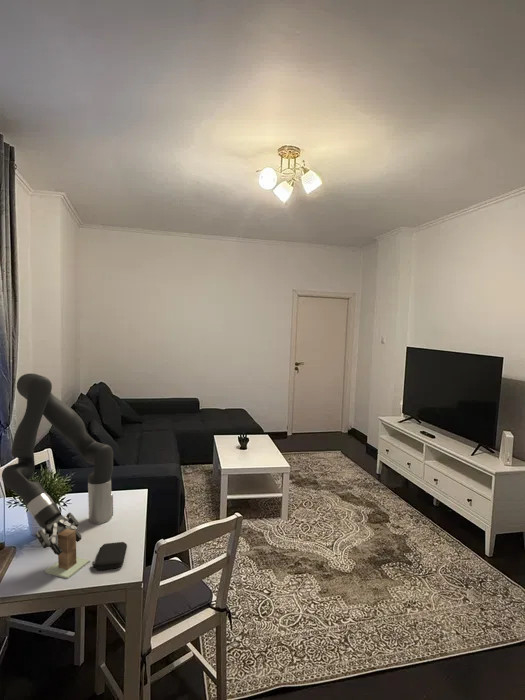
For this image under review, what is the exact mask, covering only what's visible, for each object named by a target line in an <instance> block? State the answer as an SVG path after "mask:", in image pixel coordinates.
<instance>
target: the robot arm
mask: <svg viewBox="0 0 525 700" xmlns="http://www.w3.org/2000/svg"><path fill="white" fill-rule="evenodd" d="M16 389H17V392H18V394H19V395H20V396H22V397H23V398H24V399H25V400H26V408H25V412H24V415H23V417H22V419H21V421H20V422H19V425H18V426H17V428H16V430H15V433H14V437H13V441H12V445H11V451H10V453H11V455H12V457H13V458H17V463H14V464H9V465H7V466H6V467H4V469H3V470H2V471H1V480H2V481H3V483H4V485H5V486H6V487H7V488H9V489H10V490H11V491H12V492H13V493H14V494H16V495H18V496H19V497H20V498H21V499H22V501H23V502H24V504H25V506H26V507H27V509H28V511H29V513H30V514H31V515H32V518H33V519H34V520H35V522H36V523H37V524H38V526H39V527H40V529H39V530H38V531H37V532H36V533H35V537H36V538H37V540H38V542H39V544H40V545H41V547H42V549H44V550H45V549H47V548H50V549H51V550H52V551H53V553H54V555H57V556H58V555H59V554H61V553H62V549H61V548H60V546H59V545H58V541H57V542H56V539H57V536H58V534H59V533H60V532H62V531H64V530H65V529H71V530H75V531H76V543H78V542H80V541H81V540H82V535H81V533H80V532H79V530H78V528H79V526H80V525H81V524H80V522H79V521H78V520H77V519H76V517H75V516H74V515H73V513H71V512H68V513H67V514H66V515H65V516H63V515H62V511H61V509H60V508H59V507H58V505H57V504H56V502H54V500H53V498H52V497H51V496H50V495H49V494H48V493H47V492H46V490H45V489H44V487H43V486H42V484H40V482H39V481H31V480H30V479H31V478H32V477H33V475H34V473H35V470H36V467H35V466H36V464H35V453H34V451H35V447H36V441H37V435H38V432H39V427H40V424H41V421H42V418H43V417H44V418H45V419H46V420H47V421H48V422H49V423H50V424H51V426H52V427H53V428H54V429H55V430H56V431H57V432H58V433H59V434H60V435H61V436H63V438H65V440H66V441H68V442H69V443H70V444H71V445H72V446H73V447H74V448H75V449H76V450H77V452H78V453H79V454H80V456H81V457H82V458H83V460H84V461H86V463H88V464H90V465H93V471H92V472H90V473H88V476H87V491H88V492H87V493H88V494H87V495H88V496H87V497H88V499H87V500H88V522H89V523H90V524H94V525H98V524H103V523H106V522H108V521H110V520H111V519H112V517H113V515H114V494H113V493H112V475H113V472H114V450H113V448H112V446H110V445H109V444H105V443H101V442H98V441H96V440H95V439H94V438H93V437H92V436H91V435H90V434H89V433H88V431H87V428H86V425H85V422H84V421H83V419H82V418H81V417H80V416H79V415H78V413H77V412H76V411H75V410H74V409H72V407H70V406H69V405H67V403H64V401H62V400H60V398H57V397H56V396H55V394H53V393H52V389H53V384H52V382H51V380H50V379H49V378H48V377H46V376H44V375H42V374H41V375H40V374H37V373H25V374H22V375H21V376H20V377H19V378H18V379H17V381H16ZM41 528H42V529H41ZM46 534H47V535H46Z"/></svg>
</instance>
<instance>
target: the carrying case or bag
mask: <svg viewBox="0 0 525 700" xmlns="http://www.w3.org/2000/svg"><path fill="white" fill-rule="evenodd" d="M127 549H128V544H127V543H126V542H124V541H119V542H107V543H104V544H102V545H101V546H100V547H99V550H98V553H97V556H96V558H95V561H92V562H91V563H92V564H91V565H92V568H93V569H94V570H95V571H97V572H105V571H115V570H119V569H121V568H122V567H123V565H124V563H125V562H124V561H125V558H126V552H127Z"/></svg>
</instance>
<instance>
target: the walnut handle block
mask: <svg viewBox="0 0 525 700" xmlns="http://www.w3.org/2000/svg"><path fill="white" fill-rule="evenodd" d="M57 544H58V545H59V546H60V548H61V549H62V553H61V554H59V555H57V556H58V557H57V560H58V561H57V562H58V565H59V568H62V569H66V570H68V569H70V568H71V567H72V566H74V565H75V564H76V563H77V561H76V557H77V542H76V531H75V530H71V529H65V530H64V531H62V532H60V533H59V534H58V535H57Z"/></svg>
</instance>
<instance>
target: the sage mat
mask: <svg viewBox="0 0 525 700" xmlns="http://www.w3.org/2000/svg"><path fill="white" fill-rule="evenodd" d="M76 561H77V563H76V564H75V565H74V566H72V567H71V568H70V569H68V570H66V569H62V568H59V565H58V561H56V562H55V563H53V564H52V565H51V566H49V567H48V568H46V569H45V570H44V573H46V574H49V575H52V576H55V577H59V578H63V579H67V580H68V579H69V578H72V577H73V576H74V575H75V574H76V573H78V572H79V571H80V570H81V569H83V567H85V566H86V565H88V564H89V563H90V562H91V561H90V559H87V558H83V557H79V556H76Z"/></svg>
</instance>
